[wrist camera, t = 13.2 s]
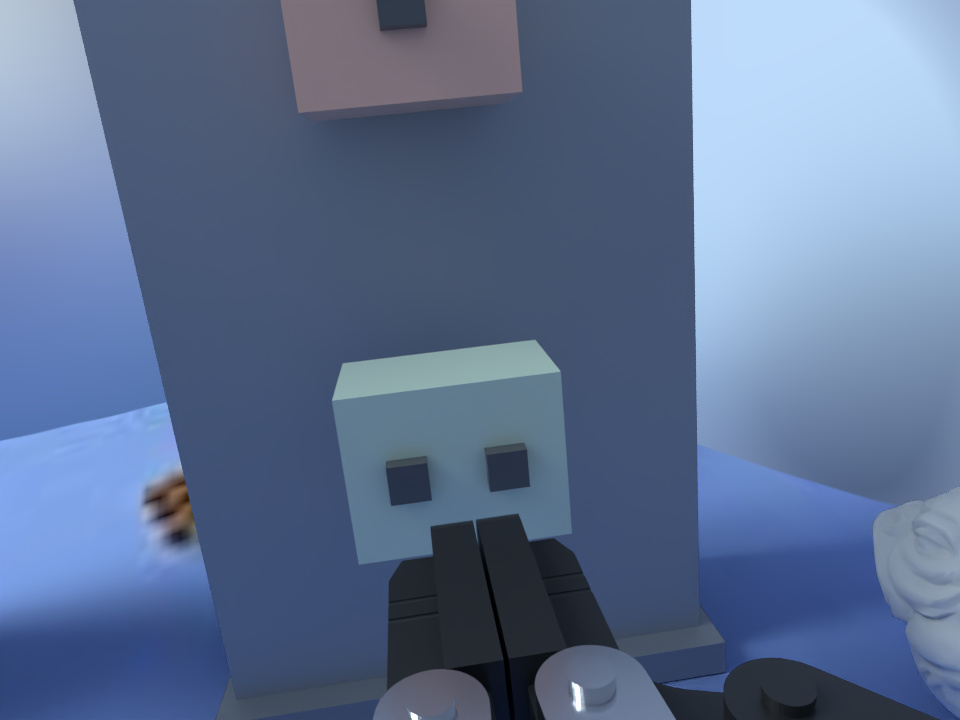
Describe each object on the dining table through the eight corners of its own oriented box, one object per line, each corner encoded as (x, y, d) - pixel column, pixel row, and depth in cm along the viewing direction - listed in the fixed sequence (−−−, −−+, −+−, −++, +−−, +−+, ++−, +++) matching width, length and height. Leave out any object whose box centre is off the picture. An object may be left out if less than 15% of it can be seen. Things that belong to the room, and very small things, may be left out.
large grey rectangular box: (725, 672, 24) (724, -132, 17) (221, 756, 23) (14, -83, 16) (646, 550, 32) (625, -41, 25) (265, 607, 30) (138, -2, 24)
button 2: (576, 541, 16) (565, 376, 15) (357, 574, 16) (329, 406, 15) (546, 479, 19) (535, 339, 18) (364, 504, 19) (342, 363, 18)
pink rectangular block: (525, 89, 15) (510, -119, 14) (295, 111, 15) (261, -101, 14) (503, 103, 19) (489, -65, 18) (313, 121, 18) (287, -50, 17)
